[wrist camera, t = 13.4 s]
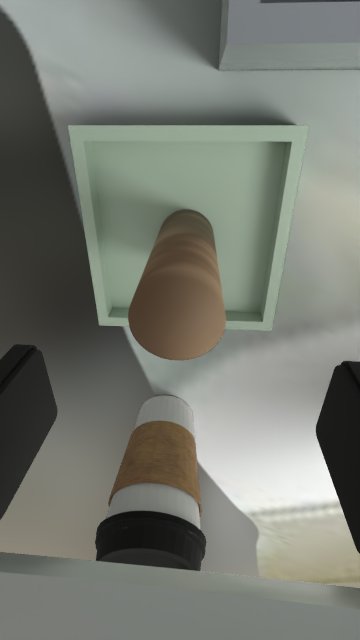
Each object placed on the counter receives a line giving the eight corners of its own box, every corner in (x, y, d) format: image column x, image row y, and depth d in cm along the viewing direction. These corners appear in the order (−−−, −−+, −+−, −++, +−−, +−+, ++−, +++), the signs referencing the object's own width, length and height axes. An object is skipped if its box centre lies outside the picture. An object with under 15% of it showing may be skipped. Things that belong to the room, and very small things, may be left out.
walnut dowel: (215, 209, 22) (229, 277, 12) (212, 263, 24) (222, 361, 14) (158, 208, 22) (123, 275, 12) (160, 262, 24) (132, 358, 14)
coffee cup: (120, 428, 36) (76, 592, 23) (139, 376, 32) (98, 542, 19) (188, 446, 37) (182, 613, 24) (216, 399, 33) (226, 571, 20)
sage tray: (297, 125, 20) (309, 125, 18) (266, 314, 27) (271, 330, 25) (81, 125, 21) (67, 125, 19) (107, 310, 28) (99, 325, 26)
